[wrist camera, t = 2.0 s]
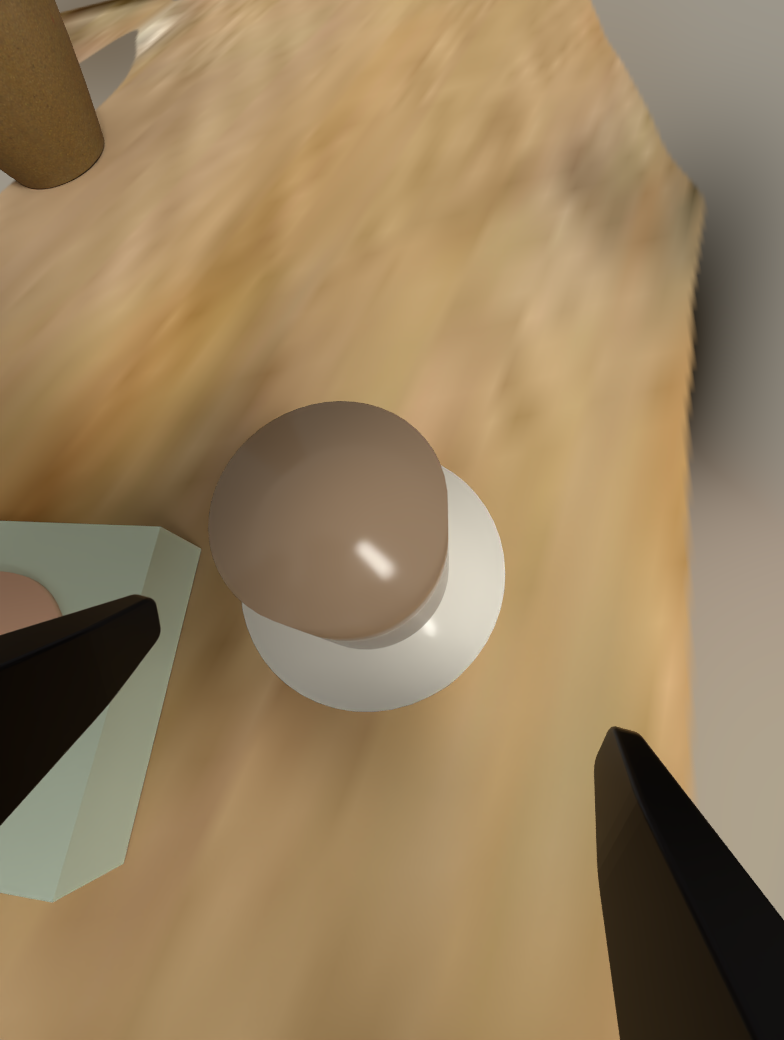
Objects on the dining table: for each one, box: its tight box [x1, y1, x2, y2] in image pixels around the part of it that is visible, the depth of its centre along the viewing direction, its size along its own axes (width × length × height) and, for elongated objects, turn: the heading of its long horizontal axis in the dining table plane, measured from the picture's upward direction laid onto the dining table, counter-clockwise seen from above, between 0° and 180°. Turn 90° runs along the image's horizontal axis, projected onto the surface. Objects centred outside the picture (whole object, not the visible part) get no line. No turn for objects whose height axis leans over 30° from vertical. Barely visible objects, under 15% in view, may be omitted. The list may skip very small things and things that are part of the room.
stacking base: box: [0, 521, 201, 902], centre depth 17 cm, size 12×12×3 cm
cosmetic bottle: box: [208, 401, 505, 712], centre depth 11 cm, size 5×5×13 cm
